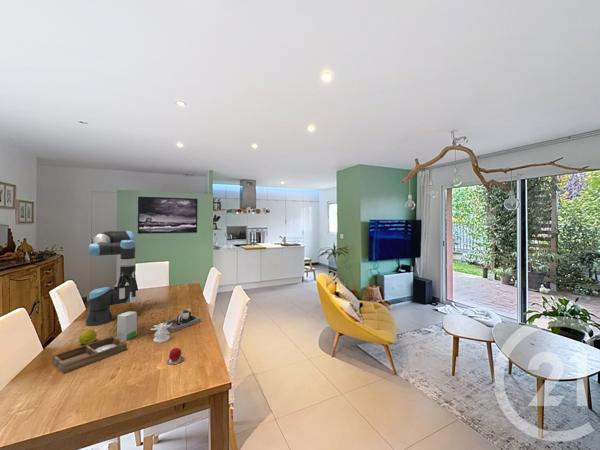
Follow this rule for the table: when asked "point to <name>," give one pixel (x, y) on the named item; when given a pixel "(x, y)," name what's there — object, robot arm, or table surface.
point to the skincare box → (126, 325)
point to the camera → (183, 317)
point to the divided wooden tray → (87, 354)
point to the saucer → (104, 347)
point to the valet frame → (172, 329)
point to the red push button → (175, 356)
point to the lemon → (87, 337)
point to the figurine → (161, 332)
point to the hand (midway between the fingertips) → (127, 300)
